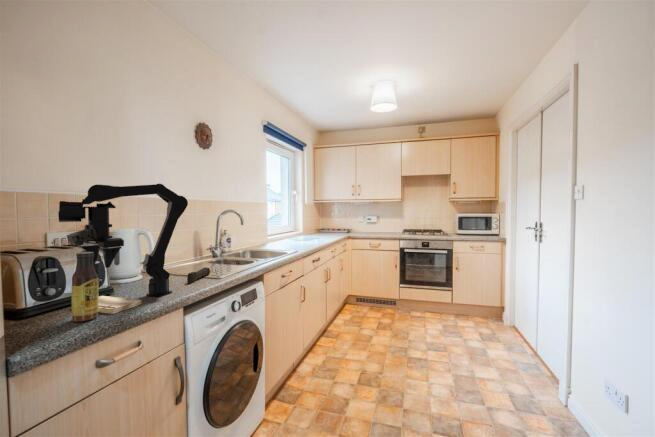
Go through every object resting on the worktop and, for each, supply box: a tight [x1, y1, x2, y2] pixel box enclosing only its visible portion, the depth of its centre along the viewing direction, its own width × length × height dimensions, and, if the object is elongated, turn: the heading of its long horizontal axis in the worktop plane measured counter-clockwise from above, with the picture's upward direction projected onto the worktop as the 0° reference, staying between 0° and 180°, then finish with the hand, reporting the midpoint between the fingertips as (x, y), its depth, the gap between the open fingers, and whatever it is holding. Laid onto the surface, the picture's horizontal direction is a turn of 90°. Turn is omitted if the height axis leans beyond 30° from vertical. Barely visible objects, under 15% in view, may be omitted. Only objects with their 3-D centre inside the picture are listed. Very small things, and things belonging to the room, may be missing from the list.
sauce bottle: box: [71, 251, 100, 323], centre depth 88 cm, size 6×6×20 cm
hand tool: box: [186, 267, 211, 284], centre depth 139 cm, size 19×4×5 cm, turn 176°
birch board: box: [98, 295, 142, 315], centre depth 99 cm, size 10×18×2 cm, turn 74°
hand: (99, 266), depth 102 cm, fingers open, 9 cm apart
